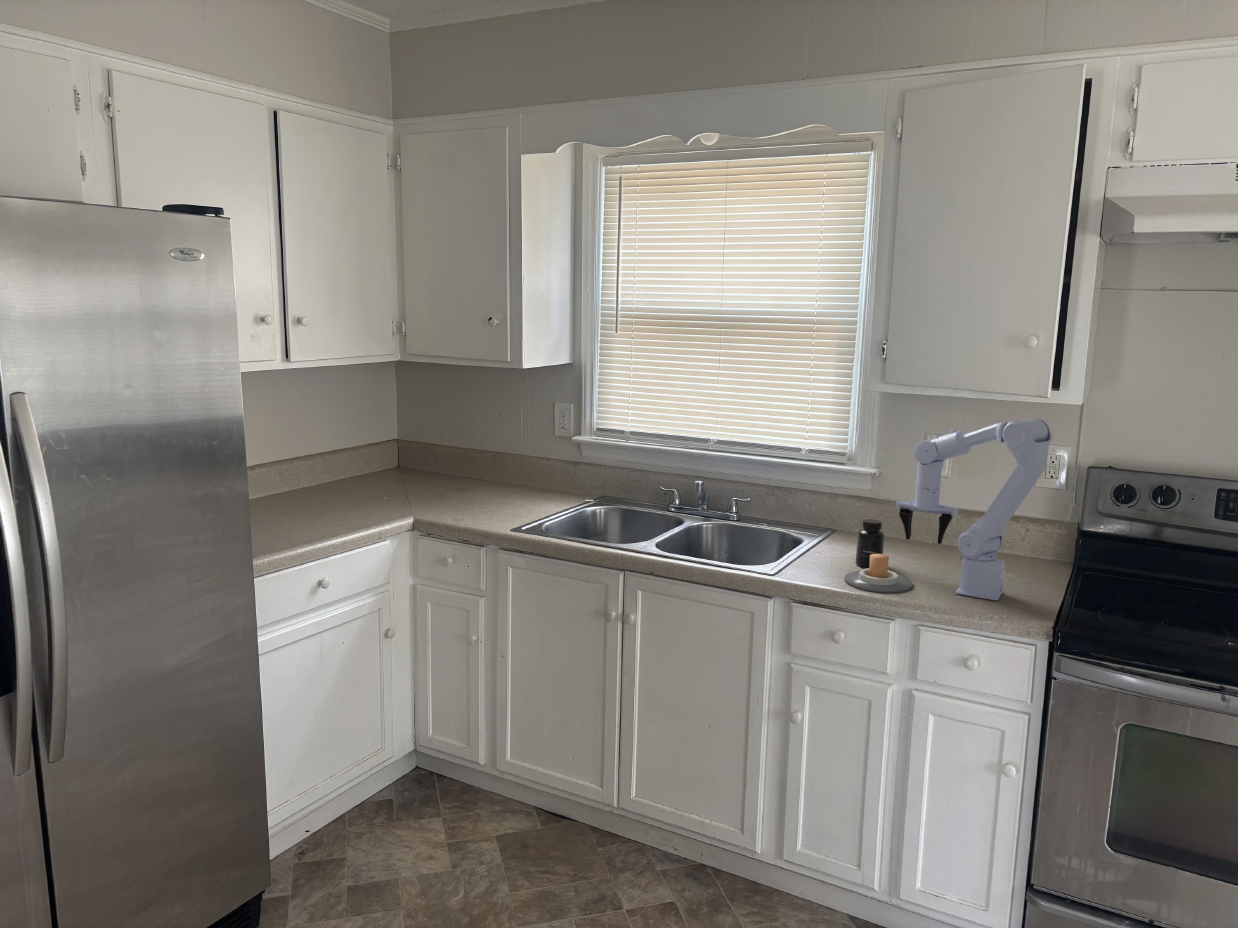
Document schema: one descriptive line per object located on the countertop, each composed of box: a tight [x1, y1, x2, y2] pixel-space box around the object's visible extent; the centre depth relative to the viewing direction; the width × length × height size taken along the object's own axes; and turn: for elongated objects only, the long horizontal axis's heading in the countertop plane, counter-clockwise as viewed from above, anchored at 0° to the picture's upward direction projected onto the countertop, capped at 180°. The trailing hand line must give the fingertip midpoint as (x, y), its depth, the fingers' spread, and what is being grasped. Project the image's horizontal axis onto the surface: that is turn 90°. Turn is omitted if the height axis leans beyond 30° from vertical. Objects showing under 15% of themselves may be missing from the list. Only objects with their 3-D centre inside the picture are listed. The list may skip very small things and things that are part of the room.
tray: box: [843, 568, 913, 594], centre depth 222 cm, size 16×16×2 cm
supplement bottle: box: [855, 518, 886, 569], centre depth 236 cm, size 7×7×12 cm
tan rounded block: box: [869, 553, 890, 578], centre depth 221 cm, size 4×4×6 cm
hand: (923, 540), depth 226 cm, fingers open, 7 cm apart
